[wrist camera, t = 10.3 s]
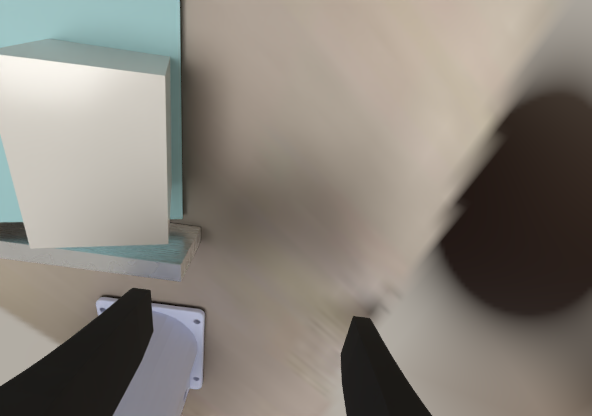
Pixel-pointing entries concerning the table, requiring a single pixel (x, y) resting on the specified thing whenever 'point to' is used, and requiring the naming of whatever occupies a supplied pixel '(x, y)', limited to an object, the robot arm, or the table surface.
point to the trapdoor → (108, 33)
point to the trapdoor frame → (109, 253)
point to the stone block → (88, 142)
